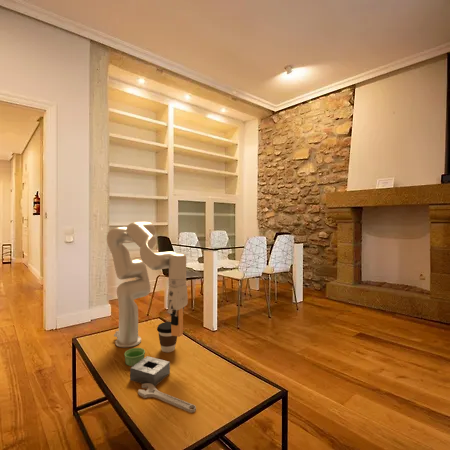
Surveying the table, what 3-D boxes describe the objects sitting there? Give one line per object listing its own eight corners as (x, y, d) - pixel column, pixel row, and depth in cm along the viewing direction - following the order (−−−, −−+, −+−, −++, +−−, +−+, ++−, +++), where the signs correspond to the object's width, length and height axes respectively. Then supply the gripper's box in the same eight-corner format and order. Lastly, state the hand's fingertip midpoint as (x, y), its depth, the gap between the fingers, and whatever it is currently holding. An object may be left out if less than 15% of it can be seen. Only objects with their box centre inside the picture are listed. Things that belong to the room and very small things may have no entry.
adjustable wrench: (197, 410, 99) (197, 405, 98) (185, 421, 93) (185, 416, 93) (147, 385, 112) (147, 381, 112) (134, 394, 107) (134, 389, 107)
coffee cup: (171, 342, 149) (171, 319, 149) (183, 349, 141) (184, 325, 141) (152, 349, 141) (152, 325, 141) (164, 357, 134) (165, 331, 133)
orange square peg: (179, 336, 124) (179, 309, 123) (171, 335, 125) (171, 308, 125) (182, 334, 127) (182, 307, 126) (175, 332, 128) (175, 306, 128)
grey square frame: (130, 380, 115) (130, 367, 115) (147, 367, 125) (147, 356, 124) (154, 387, 110) (154, 374, 110) (169, 373, 120) (169, 361, 120)
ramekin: (135, 355, 136) (136, 345, 135) (149, 360, 131) (149, 350, 131) (119, 363, 128) (119, 353, 128) (133, 369, 123) (133, 359, 123)
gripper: (174, 287, 116) (173, 331, 117) (194, 279, 131) (193, 318, 132) (159, 285, 119) (158, 328, 120) (180, 277, 134) (179, 316, 135)
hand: (176, 323), depth 126 cm, fingers closed on orange square peg, 3 cm apart
